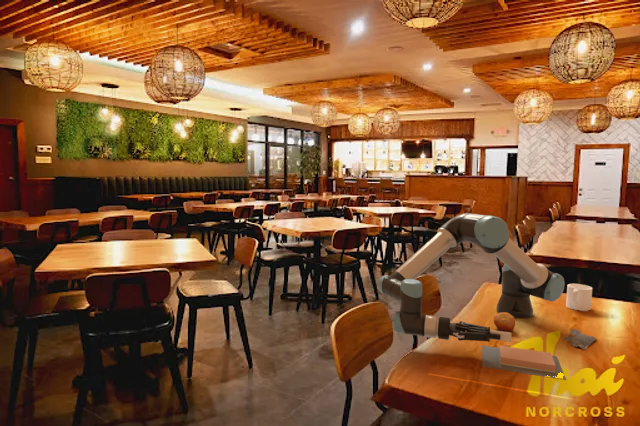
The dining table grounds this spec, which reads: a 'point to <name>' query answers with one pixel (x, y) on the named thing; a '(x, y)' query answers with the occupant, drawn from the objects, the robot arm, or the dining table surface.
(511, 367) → the rubber mat
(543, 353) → the terracotta tile
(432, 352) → the dining table surface
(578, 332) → the stone slab
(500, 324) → the fruit
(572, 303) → the mug
